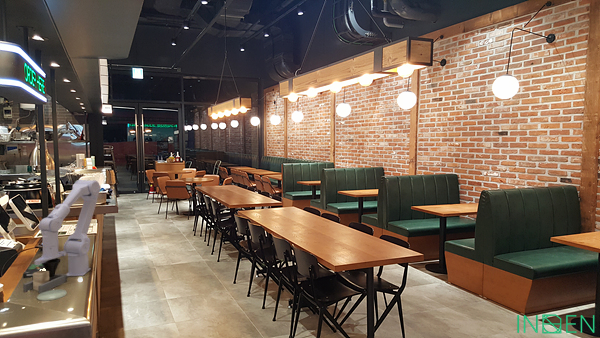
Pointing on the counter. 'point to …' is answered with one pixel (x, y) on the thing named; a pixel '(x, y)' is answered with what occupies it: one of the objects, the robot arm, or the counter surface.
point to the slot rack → (47, 283)
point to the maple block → (40, 278)
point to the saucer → (51, 295)
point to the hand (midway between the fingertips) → (51, 276)
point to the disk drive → (32, 270)
